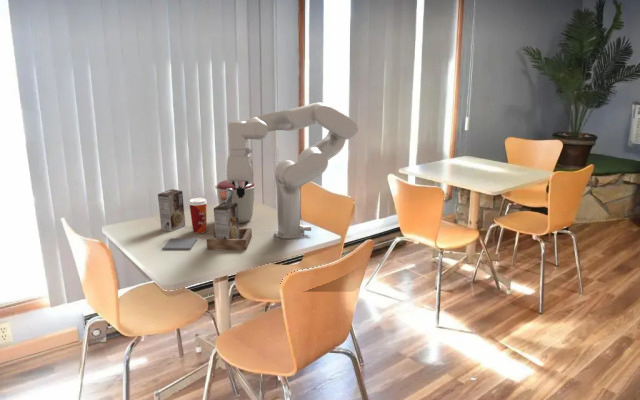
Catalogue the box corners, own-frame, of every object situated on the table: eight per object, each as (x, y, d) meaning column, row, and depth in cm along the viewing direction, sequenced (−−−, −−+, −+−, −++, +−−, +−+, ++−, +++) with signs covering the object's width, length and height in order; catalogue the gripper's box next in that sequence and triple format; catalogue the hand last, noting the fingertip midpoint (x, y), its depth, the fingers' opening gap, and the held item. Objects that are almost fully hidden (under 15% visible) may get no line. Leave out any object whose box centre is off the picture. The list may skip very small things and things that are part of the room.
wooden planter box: (253, 234, 241) (251, 193, 236) (246, 249, 223) (244, 205, 218) (216, 234, 241) (213, 193, 236) (207, 249, 224) (204, 205, 219)
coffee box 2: (225, 238, 236) (223, 201, 231) (240, 240, 234) (238, 202, 229) (215, 246, 227) (213, 207, 223) (230, 247, 225) (228, 209, 221)
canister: (265, 219, 260) (263, 174, 254) (235, 229, 247) (232, 182, 241) (239, 212, 272) (237, 168, 266) (209, 221, 259) (206, 176, 253)
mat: (197, 240, 234) (196, 238, 234) (190, 249, 224) (190, 247, 223) (170, 240, 235) (170, 238, 234) (162, 249, 224) (162, 247, 224)
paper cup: (204, 234, 241) (202, 202, 237) (187, 233, 242) (185, 202, 239) (211, 228, 248) (209, 197, 244) (195, 227, 250) (193, 197, 246)
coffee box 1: (174, 223, 256) (171, 188, 251) (185, 225, 253) (183, 190, 249) (160, 229, 248) (157, 193, 244) (171, 231, 245) (168, 195, 241)
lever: (226, 192, 236) (226, 182, 234) (234, 192, 236) (233, 182, 234) (219, 203, 221) (218, 192, 220) (227, 203, 221) (226, 192, 220)
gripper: (259, 150, 228) (260, 194, 233) (221, 150, 228) (224, 194, 233) (256, 154, 221) (258, 199, 226) (218, 154, 221) (220, 199, 226)
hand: (241, 197), depth 230 cm, fingers closed
